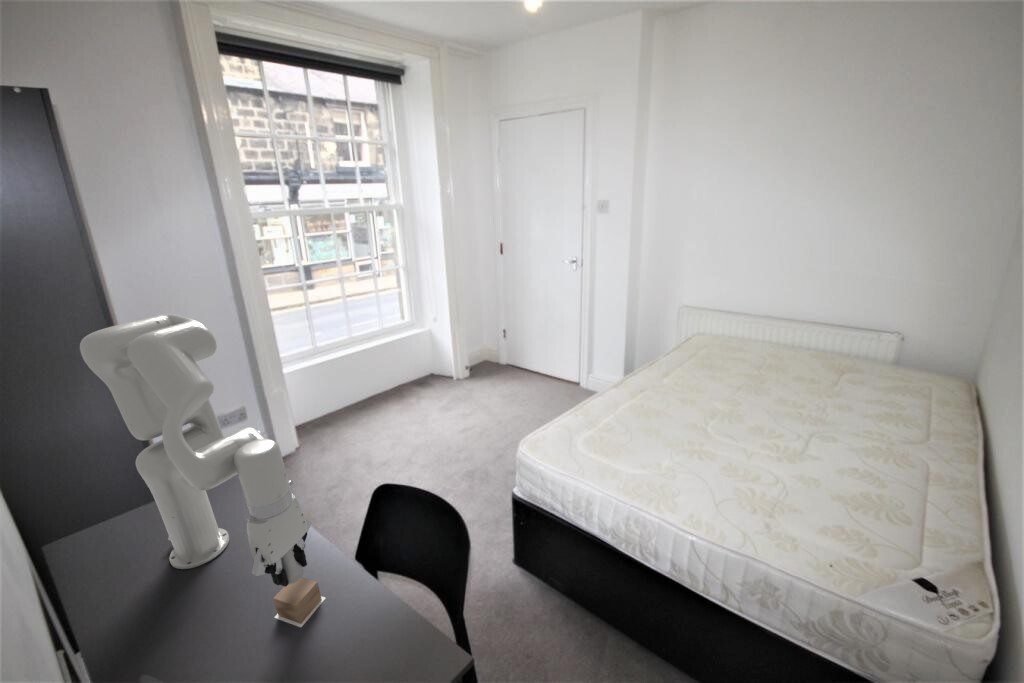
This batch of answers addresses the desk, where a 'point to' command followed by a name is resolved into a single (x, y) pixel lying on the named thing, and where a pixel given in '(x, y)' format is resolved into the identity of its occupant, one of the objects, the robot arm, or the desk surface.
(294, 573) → the rook chess piece
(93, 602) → the desk surface
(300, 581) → the walnut block
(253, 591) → the desk surface
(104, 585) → the desk surface
